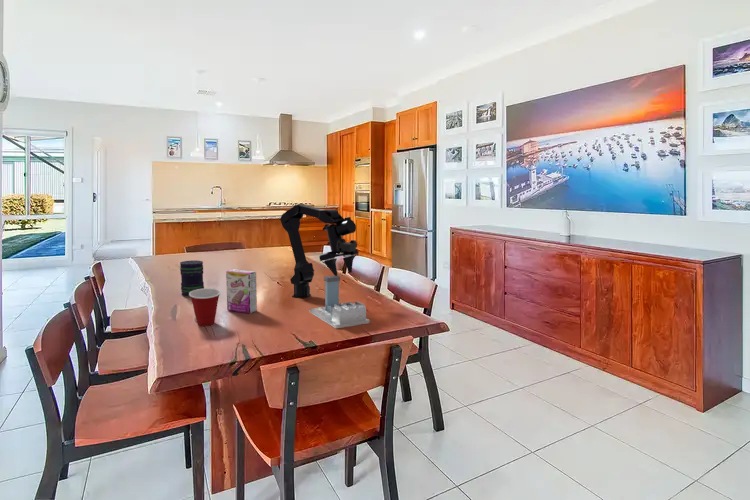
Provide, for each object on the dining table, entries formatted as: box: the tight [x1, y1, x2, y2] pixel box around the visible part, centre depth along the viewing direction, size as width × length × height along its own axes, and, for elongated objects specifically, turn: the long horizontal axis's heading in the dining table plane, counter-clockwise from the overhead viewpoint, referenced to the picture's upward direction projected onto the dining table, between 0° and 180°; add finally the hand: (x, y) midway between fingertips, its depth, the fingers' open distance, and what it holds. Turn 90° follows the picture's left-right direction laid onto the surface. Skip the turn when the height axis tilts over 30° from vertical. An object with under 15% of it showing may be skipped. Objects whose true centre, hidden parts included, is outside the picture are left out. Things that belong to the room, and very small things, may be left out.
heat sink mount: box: [308, 300, 370, 329], centre depth 169 cm, size 24×14×7 cm, turn 32°
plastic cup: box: [189, 287, 222, 327], centre depth 158 cm, size 11×11×12 cm
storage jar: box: [179, 260, 205, 298], centre depth 201 cm, size 10×10×15 cm
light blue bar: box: [323, 274, 341, 312], centre depth 171 cm, size 8×6×14 cm
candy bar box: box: [225, 268, 258, 314], centre depth 175 cm, size 11×5×16 cm, turn 71°
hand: (343, 274), depth 184 cm, fingers open, 9 cm apart
